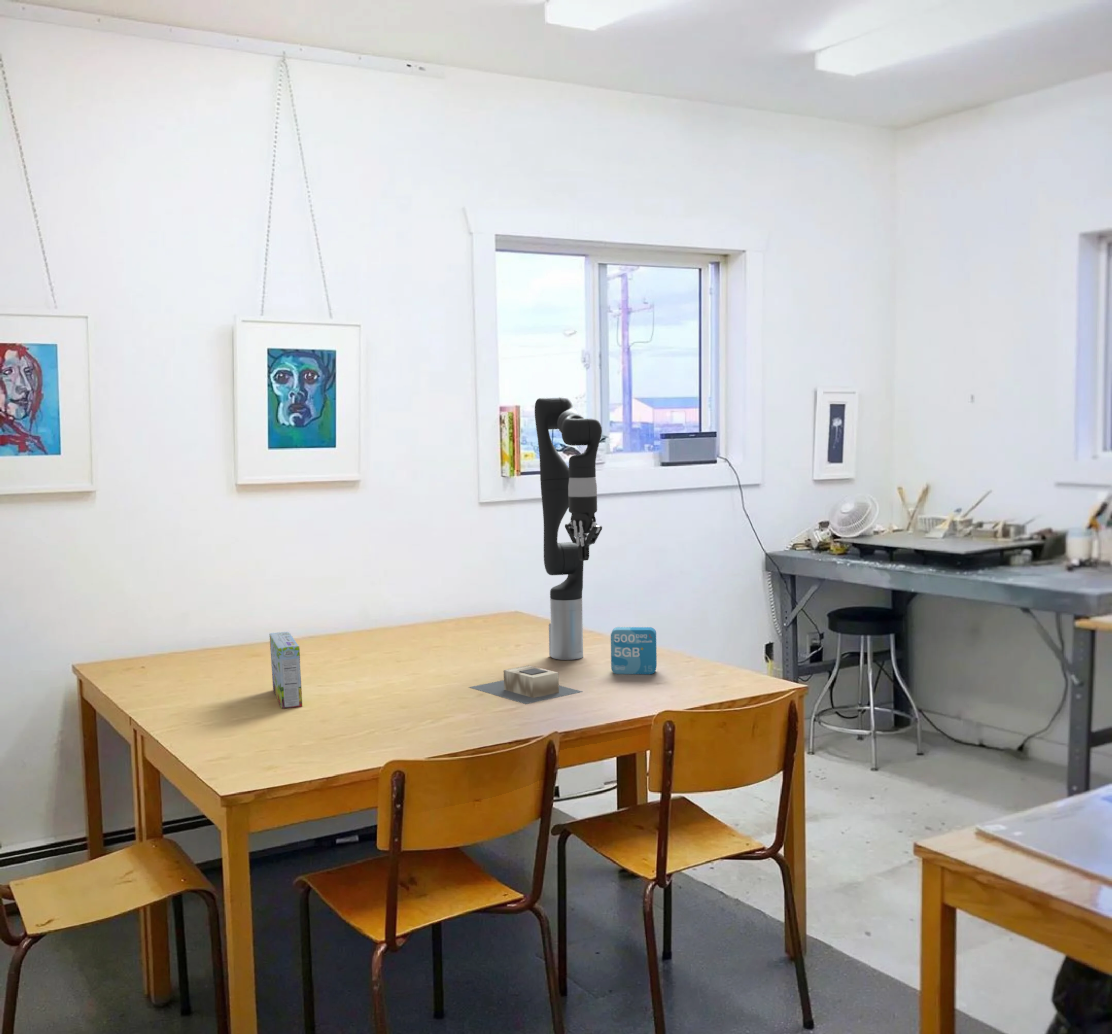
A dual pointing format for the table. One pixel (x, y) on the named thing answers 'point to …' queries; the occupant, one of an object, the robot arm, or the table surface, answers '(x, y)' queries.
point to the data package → (633, 650)
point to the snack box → (286, 669)
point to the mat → (498, 690)
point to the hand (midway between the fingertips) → (583, 560)
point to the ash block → (531, 681)
